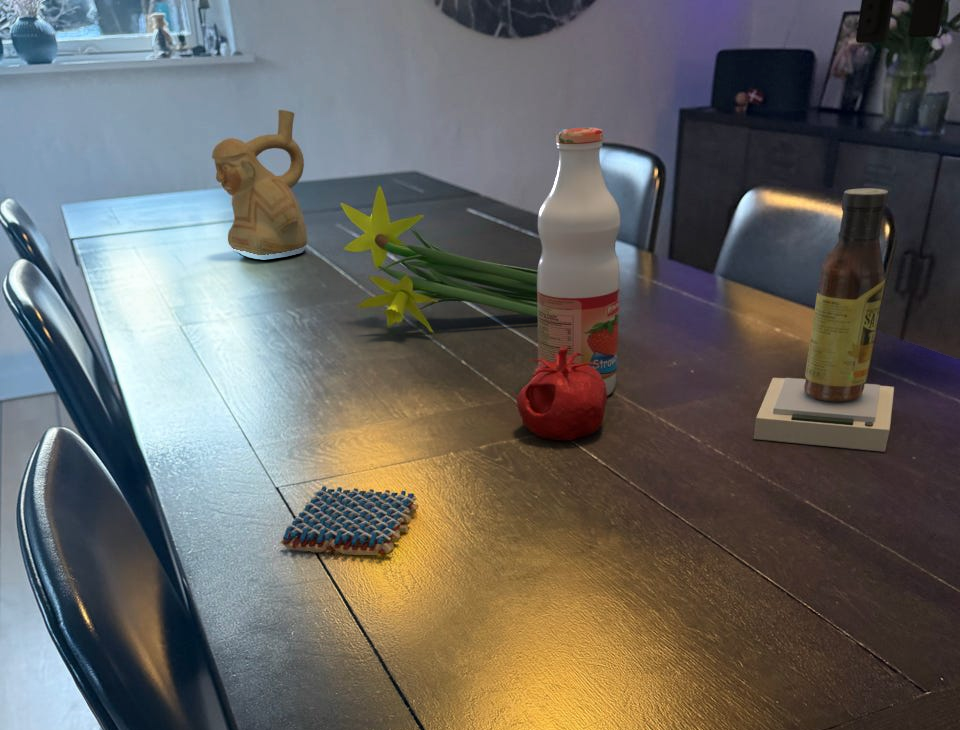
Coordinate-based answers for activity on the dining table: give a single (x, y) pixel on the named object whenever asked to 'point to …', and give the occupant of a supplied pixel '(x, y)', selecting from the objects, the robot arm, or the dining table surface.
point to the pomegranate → (563, 398)
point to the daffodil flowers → (434, 271)
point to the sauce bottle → (848, 301)
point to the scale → (825, 417)
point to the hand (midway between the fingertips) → (897, 39)
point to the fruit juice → (579, 259)
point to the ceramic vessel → (262, 192)
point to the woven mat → (350, 522)
